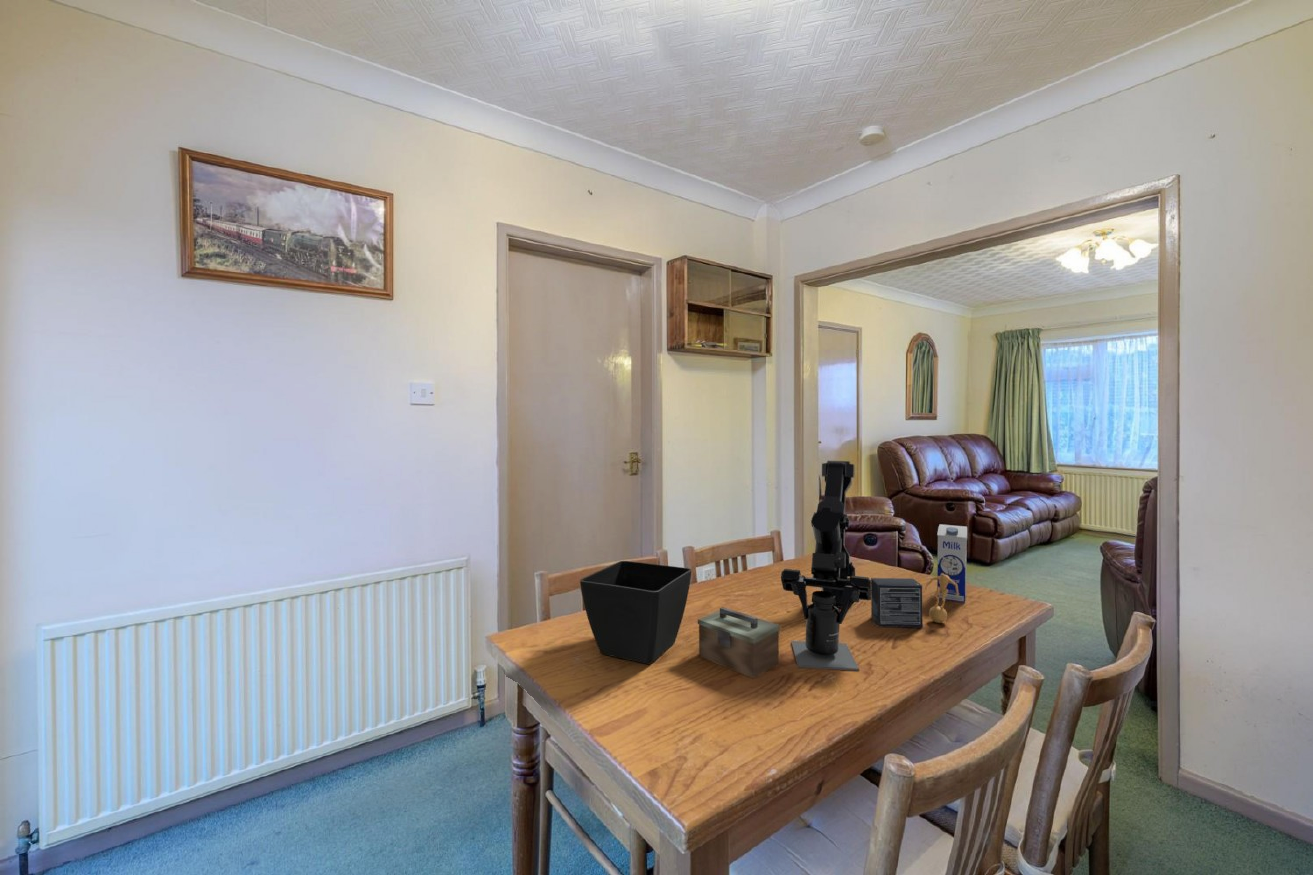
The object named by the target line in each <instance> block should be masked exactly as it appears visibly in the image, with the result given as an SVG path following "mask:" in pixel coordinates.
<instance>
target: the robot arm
mask: <svg viewBox="0 0 1313 875" xmlns="http://www.w3.org/2000/svg"><path fill="white" fill-rule="evenodd" d="M855 469H856V468H855V464H853V463H851V461H850V460H827V462H825V463H824V462H823V463H821V477H822V478H824V483H825V487H824V495H823V499H822V500H821V501H820V502H818V503H817V506H816V511H815V512H813V515H812V518H811V521H810V523H811V527H812V529H813V530H812V531H813V536H814V540H815V547H814V552H812V555H811V567H810V568H811V570H810V572H811V575H812V577H811V576H804V575H803V574H802V573H801V570H799V569H789V568H784V569H783V570H782V571H781V575H780V580H781V582H780V583H781V585H782V588H783V590H784V591H786V592H792V593H793V595H794V596H797V597H798V598H799V601H800V604H801V608H802V612H803V613H802V614H803V617H804V620H806V619H807V607H808V594H807V593H808V592H807V587H812V588H813V587H814V588H821V591H827V592H831V593H833V594H834V595H835V596H836V605H835V607H836V608H840V610H839V612H840V614H839V624H840V625H842V624H843V621H844V620H845V617H846V615H847V614H848V612H849V610H850V608H852V607H853V605H854V604H855V603H859V602H860V600H862V601H871V578H870V577H868V576H858V575H856V568H855V566H854V563H853V562H851V556H850V554H849V552H848V549H847V548H846V547H845V546H846V545H845V543H846V542H845V536H846V530H848V528H850V525H851V519H850V518H849V516H848V514H847V513H846V498H847V496H846V493H847V492H848V490H849V489H851V486H852V484H853V478H854V479H855V471H856V470H855Z"/></svg>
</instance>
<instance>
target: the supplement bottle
mask: <svg viewBox="0 0 1313 875" xmlns="http://www.w3.org/2000/svg"><path fill="white" fill-rule="evenodd" d="M835 605H836V596H835V595H834V594H833V593H831V592H827V591H822V590H815V591H813V592H812V594H811V603H810V604H809V605H807V619H805V620H806V621H805V645H806V648H807V649H808V650H809V651H811V652H813V653H815V654H819V655H834V654H836V653H837V652H838V646H839V643H840V642H839V641H840V625H841V624H839V614H840V610H839V608H838V607H835Z"/></svg>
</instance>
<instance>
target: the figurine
mask: <svg viewBox="0 0 1313 875" xmlns="http://www.w3.org/2000/svg"><path fill="white" fill-rule="evenodd" d="M938 579H939V583H940V588H939V587H937V586H936V590H935V592H934V598H935V599H936V603H935V604H934V605H933V606H932V607H930V609H929V611H928V615H929V618H930V619H931V621H932V622H934V623H937V624H942V623H945V622H946V620H947V619H948V612H947V610H946V609H945V608H944V606H945V602H946V601H947V600H945V599H944V598H945V597H946V595H947V593H948V589H946V587H947V585H948V583H949V582H950V583H952V584H953V585H955V587H956V592H957V594H956V595H957V596H956V597H957V598H959V593H958V585H957V584H956V583H955V582H953V581H952V580H951V579H950V578H949V576H948V575H945V574H943V573H941V575H940V576H938V577H937V576H935V577H932V578H930V580H929V581H928V582H927V584H925V587H924V590H926V589H927V587H928V586H929V585H930V584H931V583H932V582H933V581H936V580H938ZM940 592H942V593H941V594H942V599H941V600H942V604H941V605H940V606H939V603H940V599H939V597H937V596H938V595H939V594H940Z"/></svg>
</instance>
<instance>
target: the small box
mask: <svg viewBox="0 0 1313 875" xmlns="http://www.w3.org/2000/svg"><path fill="white" fill-rule="evenodd" d="M870 580H871V600H870V602H871V605H870V608H871V610H870V611H871V612H870V613H871V615H870V618H871V620H872V621H873V622H874V623H875V624H876V626H877V627H878V628H917V629H922V628H924V624H923V585H922V584H921V583H919V582H918V581H917V580H916V579H914V578H905V577H904V578H900V577H899V578H897V577H895V578H894V577H893V578H892V577H891V578H889V577H888V578H887V577H884V578H883V577H871V578H870Z"/></svg>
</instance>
